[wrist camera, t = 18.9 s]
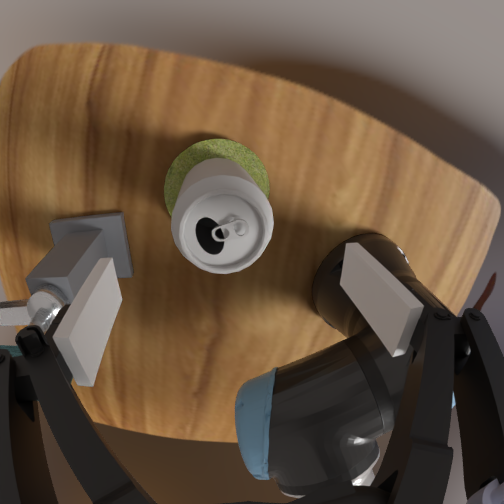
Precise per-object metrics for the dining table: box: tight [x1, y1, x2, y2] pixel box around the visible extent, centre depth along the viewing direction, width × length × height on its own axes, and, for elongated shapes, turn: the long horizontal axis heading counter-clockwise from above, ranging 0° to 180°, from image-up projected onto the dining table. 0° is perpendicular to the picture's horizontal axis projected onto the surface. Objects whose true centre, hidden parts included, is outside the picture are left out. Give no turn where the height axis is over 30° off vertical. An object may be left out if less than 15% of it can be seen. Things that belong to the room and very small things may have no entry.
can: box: [171, 158, 274, 274], centre depth 25 cm, size 8×8×12 cm
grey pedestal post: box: [25, 212, 134, 304], centre depth 27 cm, size 10×8×12 cm
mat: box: [164, 139, 270, 217], centre depth 31 cm, size 11×11×2 cm
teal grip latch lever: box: [0, 285, 73, 401], centre depth 16 cm, size 4×15×10 cm, turn 95°
